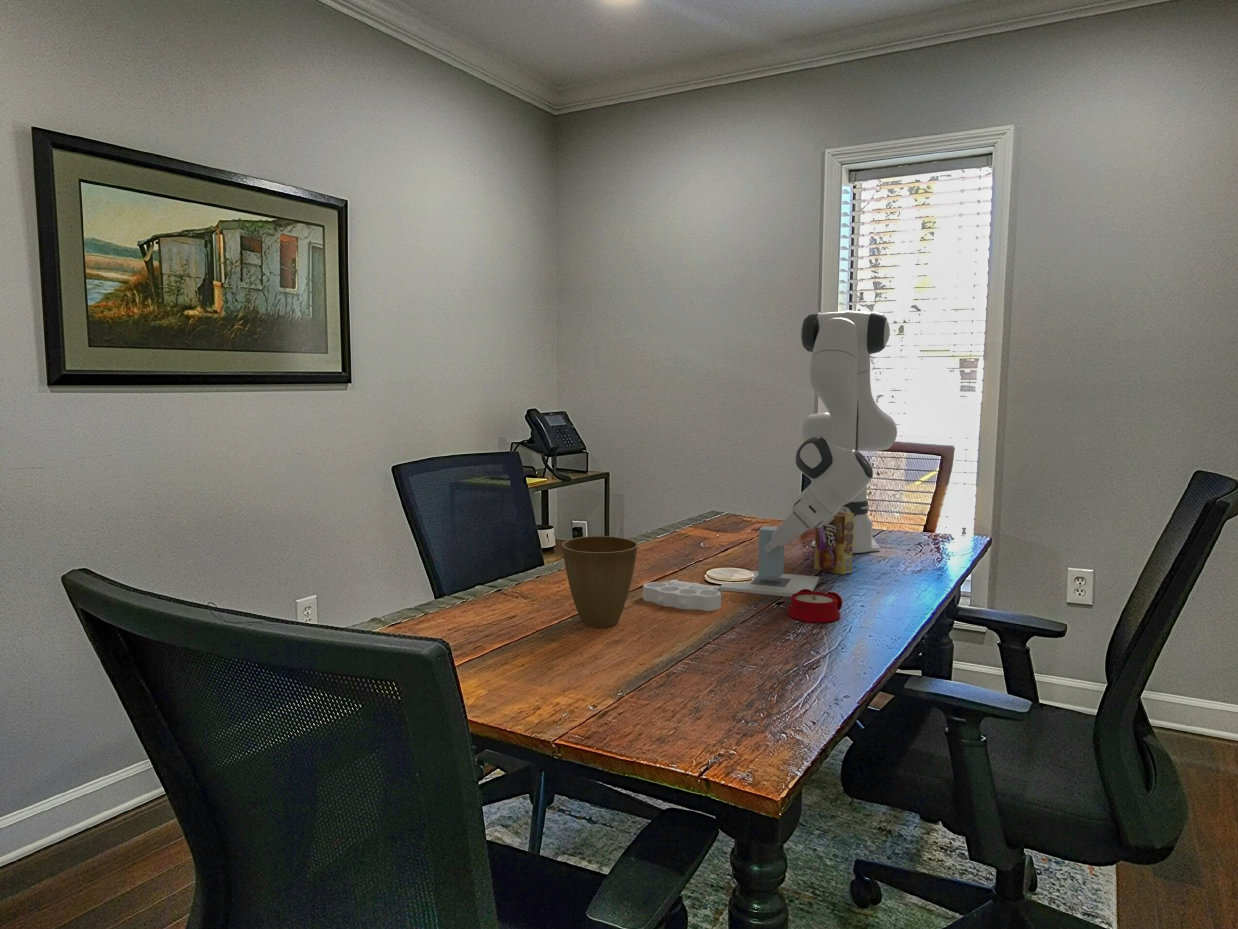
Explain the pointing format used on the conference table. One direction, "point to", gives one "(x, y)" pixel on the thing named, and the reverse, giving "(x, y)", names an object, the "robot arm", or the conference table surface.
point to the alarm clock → (815, 606)
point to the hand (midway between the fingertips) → (768, 547)
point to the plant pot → (599, 576)
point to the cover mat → (774, 584)
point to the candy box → (835, 544)
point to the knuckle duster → (683, 595)
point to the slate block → (769, 555)
